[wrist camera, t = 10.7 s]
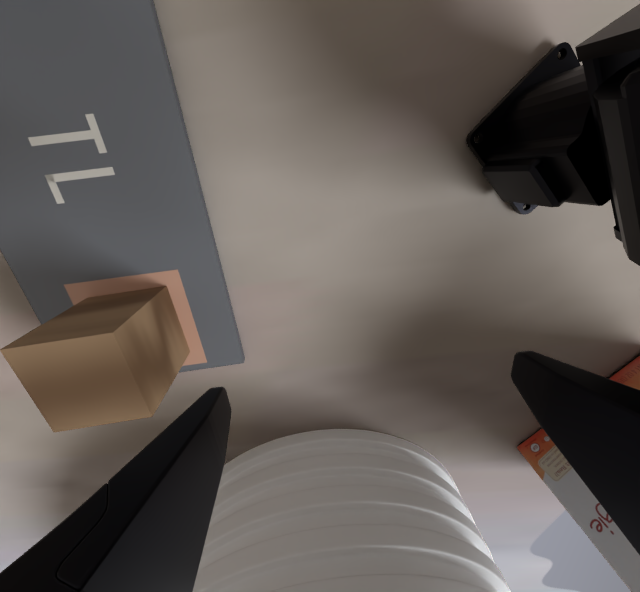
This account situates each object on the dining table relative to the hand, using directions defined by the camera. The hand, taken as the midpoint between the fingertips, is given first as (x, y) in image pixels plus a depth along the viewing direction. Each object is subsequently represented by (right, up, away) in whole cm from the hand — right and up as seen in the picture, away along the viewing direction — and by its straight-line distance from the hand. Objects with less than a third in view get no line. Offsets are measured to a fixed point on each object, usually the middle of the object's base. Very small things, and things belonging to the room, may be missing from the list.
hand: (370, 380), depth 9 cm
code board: (-15, +10, +7) cm, 19 cm away
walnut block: (-13, +1, +11) cm, 17 cm away
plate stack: (-1, -22, +22) cm, 31 cm away
